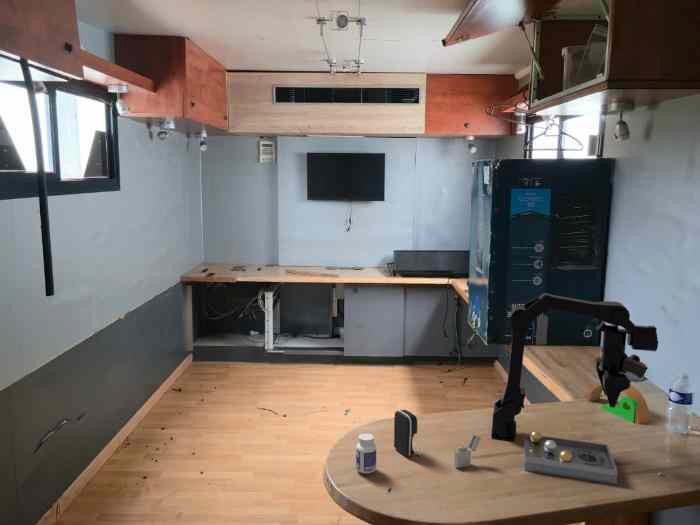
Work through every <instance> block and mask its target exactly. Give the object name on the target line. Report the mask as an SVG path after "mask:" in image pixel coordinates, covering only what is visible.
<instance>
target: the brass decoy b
mask: <svg viewBox="0 0 700 525" xmlns="http://www.w3.org/2000/svg"><path fill="white" fill-rule="evenodd" d="M559 460H560V461H561V462H567V463H571V462H572V460H573V456H572V454H571V453H570V452H569V451H567V450H563V451H561V452H560V453H559Z"/></svg>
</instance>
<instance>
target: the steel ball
mask: <svg viewBox="0 0 700 525" xmlns="http://www.w3.org/2000/svg"><path fill="white" fill-rule="evenodd" d="M544 449H545V451H546V452H548V453H554V452H555V451H556V449H557V445H556V443H555V442H554V441H552V440H547V441H545V443H544Z"/></svg>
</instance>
